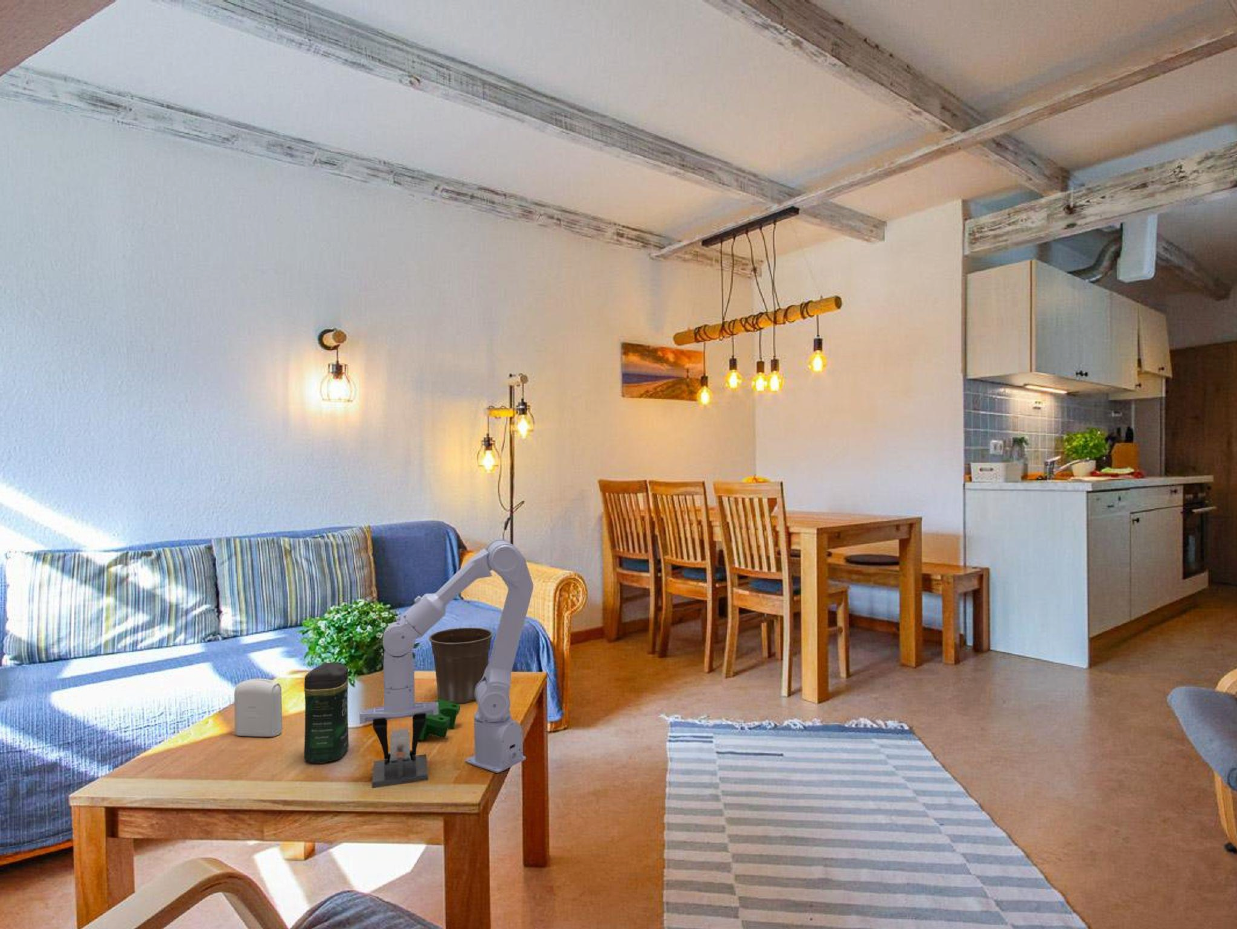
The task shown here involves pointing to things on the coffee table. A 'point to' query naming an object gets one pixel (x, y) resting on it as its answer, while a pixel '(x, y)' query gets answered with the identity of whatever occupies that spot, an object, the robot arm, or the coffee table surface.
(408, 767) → the grey slotted holder
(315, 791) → the coffee table surface
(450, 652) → the plant pot
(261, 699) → the photo printer
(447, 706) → the clamp
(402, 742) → the pull-out drawer
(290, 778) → the coffee table surface
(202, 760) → the coffee table surface
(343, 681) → the coffee jar
